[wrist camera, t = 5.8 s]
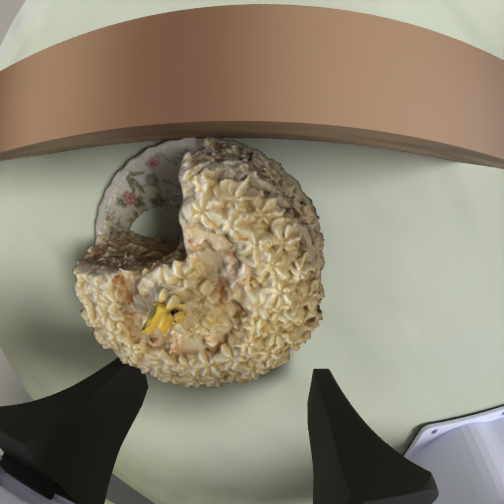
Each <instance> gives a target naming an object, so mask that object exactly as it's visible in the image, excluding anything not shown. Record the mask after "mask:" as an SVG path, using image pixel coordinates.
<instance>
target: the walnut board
mask: <svg viewBox="0 0 504 504" xmlns="http://www.w3.org/2000/svg"><path fill="white" fill-rule="evenodd" d="M205 137H219V138H273V139H294V140H310V141H323V142H334V143H344V144H354V145H362V146H370V147H378V148H385V149H392V150H398V151H405V152H411V153H417V154H422V155H427V156H433V157H438V158H443V159H448V160H452V161H457V162H461V163H469V164H476V165H483V166H489V167H495V168H501V169H504V60H502V59H500V58H498V57H496V56H494V55H492V54H490V53H487V52H485V51H483V50H481V49H479V48H476V47H474V46H472V45H469V44H467V43H464V42H462V41H459V40H457V39H454V38H451V37H449V36H446V35H443V34H440V33H437V32H434V31H431V30H428V29H425V28H422V27H418V26H415V25H412V24H408V23H404V22H400V21H396V20H392V19H388V18H384V17H379V16H374V15H369V14H364V13H359V12H353V11H346V10H339V9H332V8H323V7H313V6H300V5H277V4H249V5H227V6H214V7H204V8H195V9H187V10H180V11H174V12H168V13H162V14H157V15H152V16H147V17H142V18H138V19H134V20H129V21H126V22H122V23H118V24H114V25H111V26H107V27H104V28H101V29H97V30H94V31H91V32H88V33H85V34H82V35H79V36H77V37H74V38H71V39H68V40H66V41H63V42H61V43H58V44H56V45H53V46H51V47H49V48H46V49H44V50H42V51H39V52H37V53H35V54H33V55H31V56H29V57H27V58H25V59H23V60H21V61H19V62H17V63H15V64H13V65H11V66H9V67H7V68H5V69H3V70H2V71H0V161H1V160H8V159H15V158H22V157H29V156H38V155H44V154H50V153H55V152H61V151H67V150H73V149H80V148H87V147H94V146H102V145H111V144H120V143H130V142H141V141H154V140H169V139H182V138H205Z"/></svg>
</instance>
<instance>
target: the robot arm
mask: <svg viewBox="0 0 504 504" xmlns="http://www.w3.org/2000/svg"><path fill="white" fill-rule="evenodd" d="M147 389H148V383H147V379H146V375H145V374H142V373H141V369H140V368H137V367H134V366H130V365H129V364H123V363H122V361H120V358H119V357H118V358H117V359H115V360H114V361H112V362H111V363H109V364H108V365H106V366H105V367H103V368H102V369H100V370H99V371H97V372H96V373H94V374H92V375H91V376H89V377H87V378H86V379H84V380H82V381H81V382H79V383H77V384H75V385H73V386H71V387H69V388H67V389H65V390H63V391H61V392H58V393H56V394H53V395H50V396H48V397H45V398H42V399H39V400H35V401H32V402H28V403H23V404H17V405H11V406H2V407H0V448H1V449H2V450H3V452H4V454H3V455H2V456H1V455H0V504H104V503H105V498H106V493H107V489H108V485H109V481H110V477H111V474H112V471H113V467H114V464H115V461H116V458H117V456H118V453H119V450H120V447H121V445H122V443H123V441H124V439H125V437H126V435H127V433H128V431H129V429H130V427H131V425H132V423H133V422H134V420H135V418H136V416H137V414H138V412H139V410H140V408H141V406H142V404H143V401H144V398H145V395H146V392H147ZM308 430H309V438H310V445H311V453H312V461H313V473H314V484H313V504H504V406H502V407H499V408H496V409H493V410H489V411H486V412H482V413H478V414H475V415H471V416H467V417H463V418H459V419H454V420H450V421H445V422H440V423H435V424H429V425H426V426H424V427H423V428H422V429H421V430H420V431H419V433H418V435H417V436H416V438H415V440H414V441H413V443H412V444H411V446H410V447H409V449H408V450H407V452H406V453H405V455H404V456H402V455H401V454H399V453H398V452H397V451H395V450H394V449H393V448H392V447H390V446H389V445H388V444H387V443H385V442H384V441H383V440H382V439H381V438H380V437H379V436H378V435H377V434H376V433H375V432H374V431H373V430H372V429H371V428H370V427H369V426H368V425H367V424H366V423H365V422H364V420H363V419H362V418H361V417H360V416H359V414H358V413H357V412H356V411H355V409H354V408H353V407H352V405H351V404H350V402H349V401H348V399H347V398H346V397H345V395H344V394H343V392H342V390H341V389H340V387H339V386H338V384H337V382H336V380H335V379H334V377H333V375H332V373H331V371H330V370H329V369H314V370H313V375H312V381H311V387H310V392H309V398H308Z"/></svg>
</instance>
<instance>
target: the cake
mask: <svg viewBox="0 0 504 504" xmlns="http://www.w3.org/2000/svg"><path fill="white" fill-rule="evenodd" d="M169 189H170V194H169V195H167V191H168V190H169ZM178 194H179V197H177V198H176V199H175V200H174V201H172V204H174V205H175V207H176V208H180V211H179V223H180V225H181V227H182V231H183V235H182V236H181V237H180V238H179V242H178V243H172V242H165V241H164V239H163V237H162V235H160V236H156V237H154V238H149V237H144V236H141V235H139V234H136V233H135V232H133V231H130V227H131V226H132V223H133V222H134V221H135V220H136V218H138V217H139V215H141V214H142V213H143V212H144V211H148V210H150V209H153V208H156V207H158V206H160V207H163V206H164V207H166V208H165V210H169V211H170V210H171V209H172V208H170V209H167V205H168V206H170V205H171V204H167V202H168V200H169V199H171V197H172V196H173V195H174V196H176V195H178ZM312 203H313V202H312V200H311V199H310V198H309V197H308V196H306V195H305V193H304V192H302V190H301V187H300V184H299V182H298V181H297V180H296V179H295V178H294V177H292V176H291V175H289V174H286V172H285V171H284V169H283V168H282V166H281V163H280V164H278V162H276V161H274V160H273V159H269V158H267V157H265V154H263V153H262V152H260V151H259V150H257V149H252V148H248V147H247V146H245V145H243V144H242V143H240V142H238V141H234V140H232V141H229V140H223V139H221V138H219V137H205V138H182V139H178V140H174V139H172V140H170V139H169V140H167V141H165V142H163V143H161V144H159V145H157V146H150V147H149V148H146V149H145V150H144V151H143V152H142V154H141V153H140V154H139V155H138V156H137V157H133V158H131V159H130V160H129V161H128V162H127V164H126V165H125V167H124V168H123V169H121V170H119V171H118V172H117V173H116V175H115V176H114V178H113V180H112V182H111V184H110V186H108V187H107V189H106V191H105V193H104V197H103V200H102V201H101V204H100V205H99V207H98V217H97V219H96V223H95V230H96V237H95V246H91V247H89V248H88V249H87V251H88V253H89V254H86V256H85V257H84V259H82V260H79V261H77V264H76V266H75V267H74V269H73V270H72V271H73V273H74V274H75V276H76V280H77V282H76V283H75V286H74V289H75V294H76V296H78V299H79V300H80V302H81V303H82V304H83V306H84V308H83V309H82V310H80V312H82V313H81V316H82V318H83V319H84V321H85V324H86V325H87V326H88V327H93V329H94V331H93V333H92V335H95V338H96V340H97V341H98V343H100V344H102V347H103V349H109V348H111V349H112V350H113V351H114V352H115V354H116V355H117V356H118V357H119V358H120V361H122V363H123V364H129V365H130V366H134V367H137V368H140V369H141V373H142V374H146V373H147V372H149V373H150V376H152V377H156V379H158V380H159V381H161V382H162V383H168V382H171V383H173V384H181V385H182V386H184V387H185V388H188V387H190V386H192V387H196V388H198V387H200V386H201V385H206V386H207V388H210V387H215V388H219V387H221V386H222V385H223V383H233V382H234V381H238V382H240V383H244V382H249V381H252V380H257V379H259V377H260V375H261V374H266V373H269V371H270V370H271V369H273V368H275V367H277V366H279V365H282V364H283V363H286V362H287V361H288V360H289V358H290V354H289V350H290V349H294V350H296V351H297V350H298V349H299V348H300V345H301V342H304V343H306V340H307V339H309V338H310V337H311V331H314V330H315V328H317V327H318V326H319V323H318V321H319V320H322V319H323V317H322V311H321V310H320V305H318V303H319V304H320V303H321V302H320V301H321V300H322V297H325V295H324V289H323V285H322V284H321V271H322V269H323V267H324V263H325V261H324V257H323V251H322V249H323V246H324V244H323V242H324V239H323V234H322V233H320V223H319V222H318V219H319V216H317V214H316V209H315V207H314V206H313V205H312ZM160 216H161V217H162V218H163V219H164V218H165V217H163V216H162V215H160ZM175 310H178V311H179V312H175ZM171 311H174V313H171Z"/></svg>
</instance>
